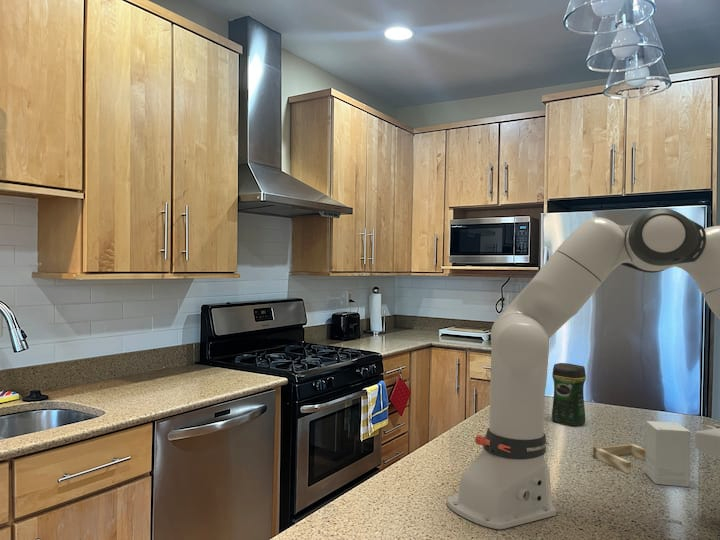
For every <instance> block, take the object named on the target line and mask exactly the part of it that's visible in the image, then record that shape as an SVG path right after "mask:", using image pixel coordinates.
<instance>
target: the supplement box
mask: <svg viewBox="0 0 720 540" xmlns="http://www.w3.org/2000/svg"><path fill="white" fill-rule="evenodd" d="M645 449H646V450H645V460H644V473H645V474H646V475H647V476H648V478H650V479H651V481H652V482H653V483H654V484H655V485H662V486H663V485H665V486H674V487H684V488H685V487H686V488H689V487H690V478H691V477H690V475H691V474H690V473H691V469H690V467H691V431H690V430H689V429H687V428H686V427H684V426H683V425H681V423H679V422H672V421H671V422H670V421H651V420H646V421H645Z"/></svg>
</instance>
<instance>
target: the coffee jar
mask: <svg viewBox="0 0 720 540" xmlns="http://www.w3.org/2000/svg"><path fill="white" fill-rule="evenodd" d="M586 375H587V374H586V369H585V366H584V365H580V364H572V363H567V362H566V363H565V362H558V363H555V364H553V368H552V380H553V401H552V408H551V420H552V421H553V422H556V423H558V424H563V425H565V426H580V427H581V426H583V425H584V424H585V423H586V411H585V408H586V407H585V397H584V387H585V382H586V380H587V379H586V378H587V376H586Z"/></svg>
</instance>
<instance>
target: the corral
mask: <svg viewBox="0 0 720 540" xmlns="http://www.w3.org/2000/svg"><path fill="white" fill-rule="evenodd" d="M645 450H646V448H644V447H641V446H639V445H637V444H635V443H623V444H622V443H621V444H612V445H603V446H594V447H593V449H592V457H593V458H594V459H596V460H599V461H601V462H603V463H605V464H607V465H609V466H610V467H613V468H615V469H618V470H619V471H621V472H623V473H625V474H630V473H631V472H632V471H631V469H632V468H631V466H632V464H631V463H632V462H631V461H629V460H627V459H624V458H622V457H623V456H631V455H632V456H634V457H636V458H638V459H641V460H642V461H645Z"/></svg>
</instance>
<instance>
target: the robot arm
mask: <svg viewBox="0 0 720 540" xmlns="http://www.w3.org/2000/svg"><path fill="white" fill-rule="evenodd" d="M620 265H622V266H625V267H628V268H631V269H634V270H637V271H640V272H643V273H661V272H662V271H665V270H668V269H671V268H675V267H676V268H679V269H682V270H683V271H685V272H686V273H687V274H688V275H689V277H691V278H692V280H694V281H695V284H696V286H697V288H698V289H699V291H700V293H701V295H702V296H703V298H704V300H705V302H706V304H707V306H708V307H709V309H710V310H711V312H712V313H713V314H714V315H715V316H716V317H717V318H718V320H720V225H714V226H708V227H705V228H704V227H703V225H701V224H699V223H697V222H696V221H693V220H691V219H690V218H688V217H687V216H685V215H684V214H682V213H680V212H678V211H676V210H674V209H669V208H656V209H652V210H648V211H646V212H644V213H642V214H641V215H639V216H638V217H637V218H635V220H634V221H633V223H631V224H629V225H628V224H627V225H621V224H617V223H616V222H615V221H613V220H611V219H609V218H605V217H600V216H599V217H595V216H594V217H591V218H588V219H587V220H586V221H584V222H583V223H582V224H581V225H579V226H578V227H577V228H576V229H575V230H574V231H572V233H570V234H569V236H568V237H566V238H565V240H563V242H562V243H561V244H560V245H559V246H558V247H557V248H556V249H555V251H554V252H553V253H552V255H550V257H549V259H547V261H546V262H545V263H544V265H542V267H541V268H540V269H539V270H538V272H537V273H536V274H535V275H534V277H532V279H531V280H530V281H529V283H527V284H526V286H525V287H524V288H523V289H522V290H521V291H520V292H519V294H518V295H517V296H516V297H514V299H513V300H512V302H510V303H509V305H508V306H507V307H506V308H505V309H504V310H503V311H502V313H501V314H500V315H499V317H497V318H496V320H495V321H494V322H493V324H492V325H491V329H490V343H491V344H490V346H491V347H490V349H491V350H490V351H491V353H490V354H491V355H490V386H489V387H490V388H489V417H488V419H489V420H488V421H489V422H488V426H489V427H488V428H487V430H486V433H485V435H482V434H479V433H478V434H476V436H475V437H474V443H475V444H476V445H480V446H481V447H482V450H481V451H480V452H479V454H478V455H477V456H476V457H475V459H474V460H472V462H471V463H470V465H469V466H467V468H466V469H465V471H464V472H463V473H462V474H461V477H460V480H459V485H458V486H459V488H458V492H455V493H454V494H453V495H451V496H449V497H448V498H447V499H446V505H447V507H448V508H449V509H450V510H451V511H453V512H454V513H456V514H457V515H459V516H460V517H462V518H464V519H467V520H469V521H471V522H472V523H475V524H478V525H481V526H483V527H487V528H491V529H496V530H504V529H509V528H512V527H516V526H519V525H524V524H528V523H532V522H534V521H535V522H536V521H539V520H542V519H547V518H551V517H554V516H556V515H557V508H556V507H555V506H554V504H553V502H552V500H553V499H552V489H551V488H552V487H551V485H552V484H551V474H550V469H549V467H548V464H547V462H546V458H545V454H546V453H547V442H548V441H547V435H546V433H545V401H546V400H545V398H546V388H547V379H548V370H549V369H548V366H549V354H550V338H552V337H553V336H554V334H555V333H557V331H559V329H561V328H562V327H563V326H564V325H565V324H566V323H567V322H568V321H569V320H571V318H573V317H574V316H576V315H577V313H579V311H580V310H581V309H582V308H583V306H585V304H586V303H587V302H588V300H589V299H590V298H591V297H592V296H593V295H594V293H595V292H596V291H597V290H598V288H600V287H601V285H602V284H603V283H604V282H605V280H606V279H607V278H608V277H609V276H610V274H611V273H612V272H613V271H614V270H615V269H616V268H617V267H618V266H620ZM694 446H695V449H697V450H698V451H699V452H701V453H702V454H706V455H707V456H710V457H711V458H715V459H718V460H720V424H717V423H715V424H714V423H713V424H707V425H706V424H705V425H704V426H703V429H702V430H696V431H695V433H694Z"/></svg>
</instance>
